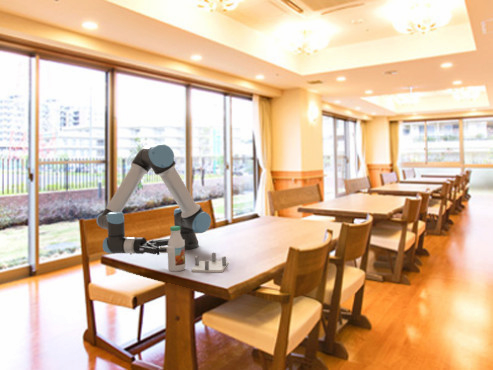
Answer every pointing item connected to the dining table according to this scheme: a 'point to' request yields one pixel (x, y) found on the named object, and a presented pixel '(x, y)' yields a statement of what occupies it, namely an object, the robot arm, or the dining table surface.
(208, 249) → the dining table surface
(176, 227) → the milk bottle
